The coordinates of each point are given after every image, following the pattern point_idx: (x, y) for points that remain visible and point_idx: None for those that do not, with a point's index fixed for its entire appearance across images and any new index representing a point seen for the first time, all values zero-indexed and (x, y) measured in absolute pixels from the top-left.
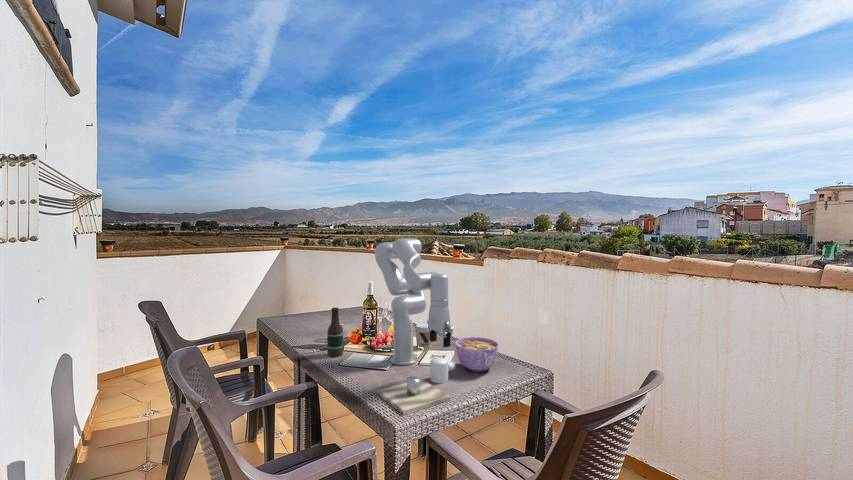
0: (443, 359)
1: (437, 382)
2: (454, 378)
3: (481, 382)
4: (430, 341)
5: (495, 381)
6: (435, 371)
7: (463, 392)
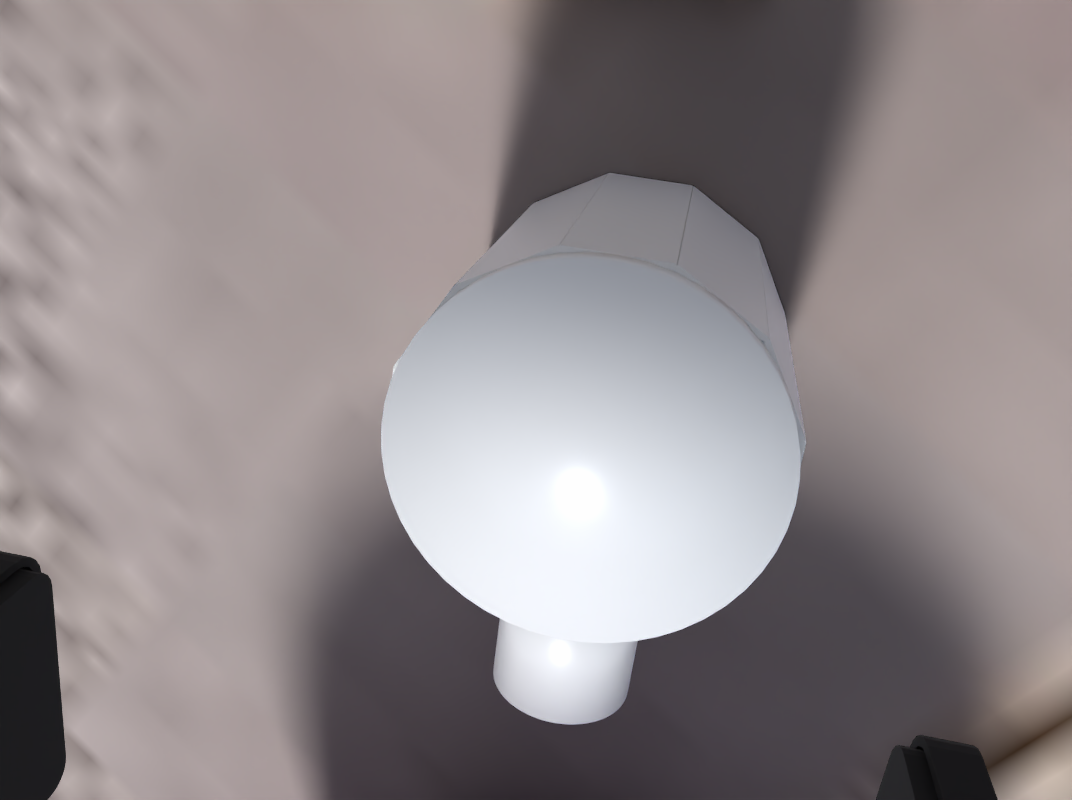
0: (588, 594)
1: (535, 202)
2: None
3: (177, 649)
4: (935, 738)
5: (111, 768)
6: (538, 230)
7: (55, 247)
